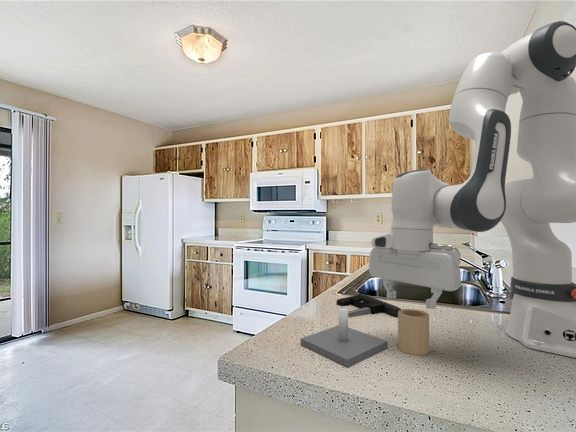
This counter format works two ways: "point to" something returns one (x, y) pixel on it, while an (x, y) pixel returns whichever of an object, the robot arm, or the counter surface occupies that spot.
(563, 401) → the counter surface
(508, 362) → the counter surface
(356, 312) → the black two-tone tubular device
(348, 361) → the roll holder
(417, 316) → the paper roll
